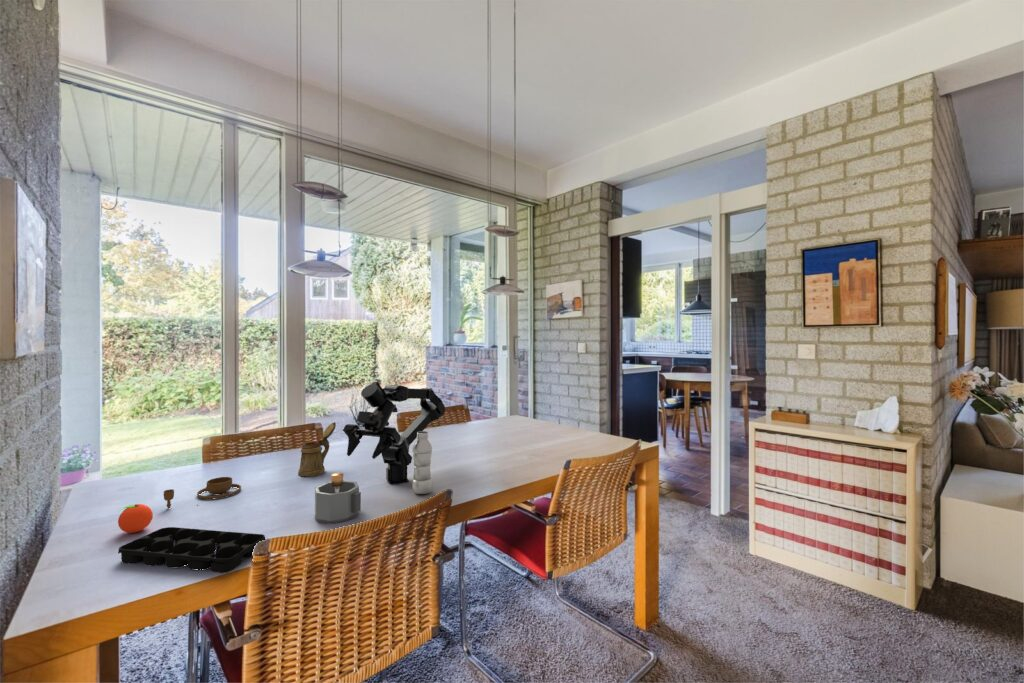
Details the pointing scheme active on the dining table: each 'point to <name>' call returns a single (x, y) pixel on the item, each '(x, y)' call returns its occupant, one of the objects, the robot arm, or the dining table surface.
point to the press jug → (337, 502)
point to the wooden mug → (315, 454)
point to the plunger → (337, 481)
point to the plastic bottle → (422, 464)
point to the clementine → (135, 518)
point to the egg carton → (191, 548)
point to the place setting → (209, 489)
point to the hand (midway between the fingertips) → (360, 456)
